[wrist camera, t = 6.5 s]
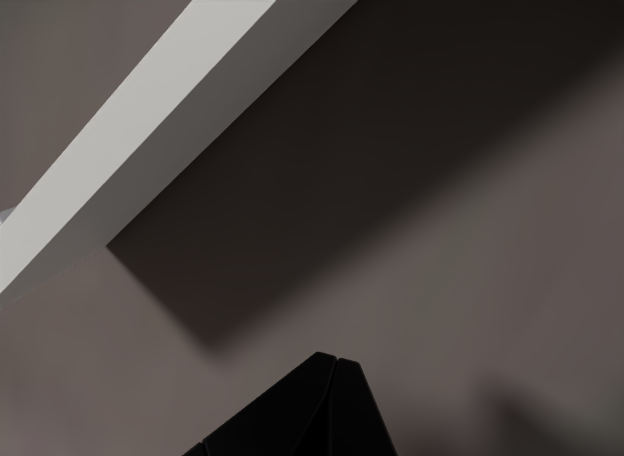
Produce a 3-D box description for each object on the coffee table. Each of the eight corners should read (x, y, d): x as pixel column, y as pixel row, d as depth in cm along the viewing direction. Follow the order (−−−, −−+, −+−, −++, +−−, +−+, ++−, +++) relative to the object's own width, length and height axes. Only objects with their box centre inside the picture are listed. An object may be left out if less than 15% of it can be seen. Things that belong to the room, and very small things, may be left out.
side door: (479, -242, 10) (547, -549, 5) (532, -164, 10) (645, -380, 5) (63, 211, 16) (-93, 276, 11) (102, 252, 17) (-33, 334, 12)
